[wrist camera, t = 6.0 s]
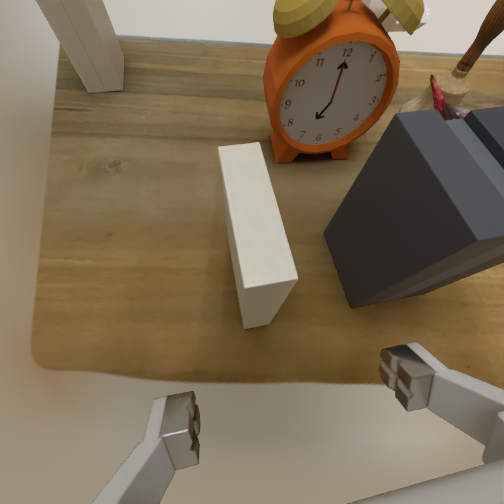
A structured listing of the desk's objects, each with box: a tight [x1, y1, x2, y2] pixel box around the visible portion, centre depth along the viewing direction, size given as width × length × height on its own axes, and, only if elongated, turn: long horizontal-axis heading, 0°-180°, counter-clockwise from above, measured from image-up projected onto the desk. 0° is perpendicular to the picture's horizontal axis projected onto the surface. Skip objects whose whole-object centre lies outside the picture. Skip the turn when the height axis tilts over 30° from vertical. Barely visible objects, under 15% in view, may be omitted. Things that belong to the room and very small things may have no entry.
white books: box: [36, 0, 125, 93], centre depth 33 cm, size 5×9×15 cm, turn 11°
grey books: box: [324, 107, 504, 308], centre depth 20 cm, size 8×9×15 cm
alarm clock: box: [263, 0, 424, 163], centre depth 25 cm, size 13×6×20 cm, turn 97°
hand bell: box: [400, 0, 504, 113], centre depth 31 cm, size 8×8×16 cm
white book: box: [218, 142, 298, 329], centre depth 19 cm, size 3×9×14 cm, turn 11°
